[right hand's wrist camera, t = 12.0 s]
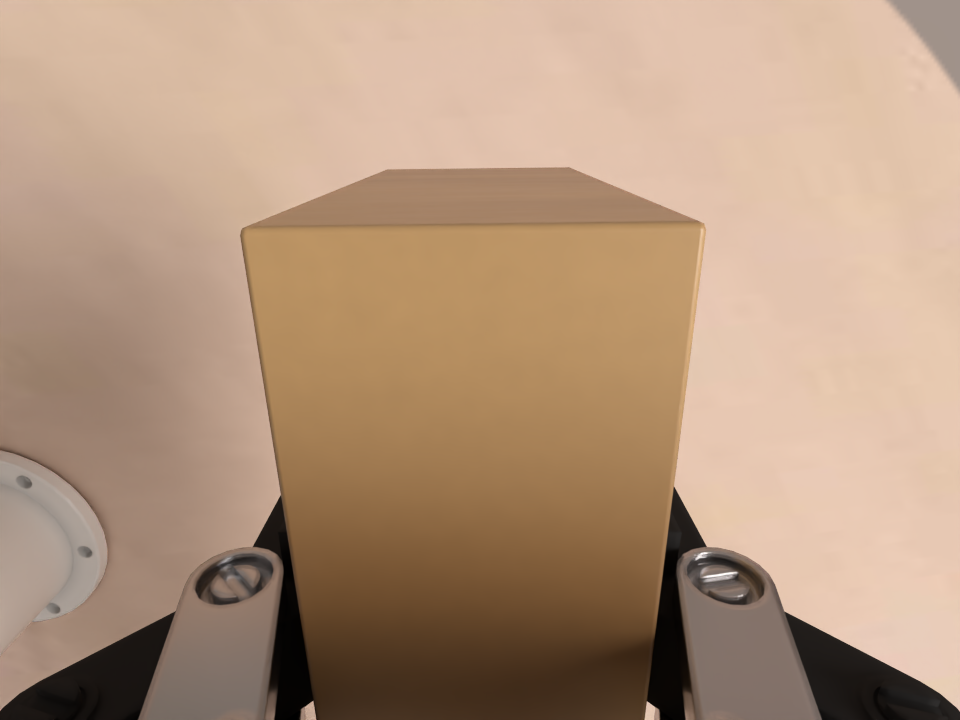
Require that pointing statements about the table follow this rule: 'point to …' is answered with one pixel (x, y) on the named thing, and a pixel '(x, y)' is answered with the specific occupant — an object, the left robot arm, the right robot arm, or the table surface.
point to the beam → (476, 436)
